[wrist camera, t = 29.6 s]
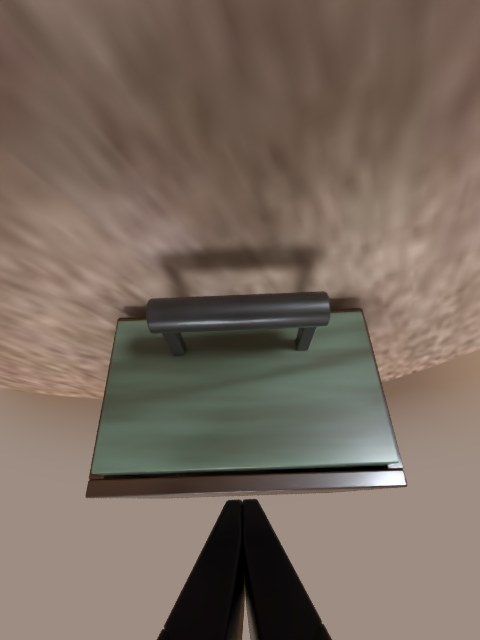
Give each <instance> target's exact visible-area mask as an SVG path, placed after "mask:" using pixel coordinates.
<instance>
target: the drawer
mask: <svg viewBox="0 0 480 640" xmlns="http://www.w3.org/2000/svg"><path fill="white" fill-rule="evenodd" d="M396 463H399V457H398V453H397V450H396V446H395V442H394V438H393V434H392V430H391V426H390V422H389V418H388V414H387V410H386V406H385V402H384V398H383V394H382V390H381V387H380V383H379V379H378V375H377V371H376V367H375V363H374V359H373V355H372V351H371V347H370V343H369V339H368V335H367V331H366V327H365V324H364V320H363V316H362V312H340V313H331V309H330V300H329V297H328V294H327V293H326V292H302V293H277V294H252V295H228V296H203V297H178V298H154V299H150V300H149V301H148V304H147V308H146V320H140V321H119V322H118V326H117V332H116V337H115V343H114V348H113V354H112V359H111V365H110V370H109V376H108V381H107V387H106V392H105V398H104V404H103V409H102V415H101V420H100V426H99V431H98V437H97V442H96V448H95V453H94V459H93V464H92V470H91V473H92V474H97V475H130V474H133V475H138V476H142V477H147V478H159V477H187V476H215V475H244V474H272V473H300V472H328V471H345V470H348V469H352V468H355V467H358V466H383V465H392V464H396Z"/></svg>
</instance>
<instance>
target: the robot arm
mask: <svg viewBox="0 0 480 640" xmlns="http://www.w3.org/2000/svg"><path fill="white" fill-rule="evenodd" d="M245 597H246V607H247V616H248V623H249V631H250V639H251V640H332V639H331V637H330V635H329V633H328V632H327V629H326V628H325V626H324V624H322V621H321V619H320V617H319V615H318V613H317V611H316V609H315V607H314V605H313V603H312V602H311V600H310V598H309V596H308V594H307V592H306V590H305V589H304V586H303V585H302V583H301V581H300V579H299V577H298V575H297V573H296V571H295V570H294V568H293V566H292V564H291V562H290V560H289V558H288V556H287V555H286V553H285V551H284V549H283V547H282V545H281V543H280V541H279V539H278V537H277V536H276V534H275V532H274V530H273V528H272V526H271V524H270V523H269V521H268V519H267V517H266V515H265V513H264V511H263V509H262V508H261V505H260V504H259V502H258V500H256V499H246V500H243V502H242V501H241V500H228V501H227V502H226V504H225V505H224V507H223V509H222V511H221V514H220V515H219V517H218V519H217V521H216V523H215V525H214V527H213V529H212V531H211V533H210V535H209V537H208V539H207V541H206V543H205V545H204V547H203V549H202V551H201V553H200V555H199V557H198V559H197V561H196V563H195V565H194V567H193V569H192V571H191V573H190V575H189V577H188V579H187V582H186V583H185V585H184V587H183V589H182V591H181V593H180V595H179V597H178V599H177V601H176V603H175V605H174V607H173V609H172V611H171V613H170V615H169V617H168V619H167V621H166V623H165V625H164V629H162V631H161V633H160V635H159V637H158V639H157V640H242V631H243V618H244V601H245Z"/></svg>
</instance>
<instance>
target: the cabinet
mask: <svg viewBox="0 0 480 640" xmlns="http://www.w3.org/2000/svg"><path fill="white" fill-rule="evenodd" d="M340 312H362V316H363V320H364V324H365V327H366V331H367V335H368V339H369V343H370V347H371V351H372V355H373V359H374V363H375V367H376V371H377V375H378V379H379V383H380V387H381V390H382V394H383V398H384V402H385V406H386V410H387V414H388V418H389V422H390V426H391V430H392V434H393V438H394V442H395V446H396V450H397V453H398V457H399V463H396V464H392V465H383V466H358V467H355V468H352V469H348V470H345V471H328V472H300V473H272V474H244V475H215V476H187V477H159V478H147V477H142V476H138V475H133V474H130V475H97V474H92V473H91V470H92V464H93V459H94V453H95V448H96V442H97V437H98V431H99V426H100V420H101V415H102V409H103V404H104V398H105V392H106V387H107V381H108V376H109V370H110V365H111V359H112V354H113V348H114V343H115V337H116V332H117V327H116V332H115V337H114V343H113V348H112V354H111V359H110V365H109V370H108V376H107V381H106V387H105V392H104V398H103V403H102V409H101V415H100V420H99V426H98V431H97V436H96V442H95V447H94V453H93V458H92V464H91V469H90V475H89V479H90V480H89V481H88V486H87V491H86V498H189V497H218V496H248V495H277V494H305V493H333V492H346V491H358V490H370V489H371V490H372V489H384V488H397V487H406V486H407V482H406V478H405V474H404V471H403V465H402V461H401V457H400V453H399V449H398V446H397V441H396V438H395V434H394V430H393V426H392V422H391V418H390V414H389V410H388V406H387V402H386V399H385V395H384V391H383V387H382V383H381V379H380V375H379V371H378V367H377V363H376V360H375V356H374V352H373V348H372V344H371V340H370V336H369V332H368V328H367V325H366V321H365V318H364V314H363V310H362V309H358V310H333V311H331V313H340ZM140 320H146V318H133V319H118V321H117V326H118V322H119V321H140Z"/></svg>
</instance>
